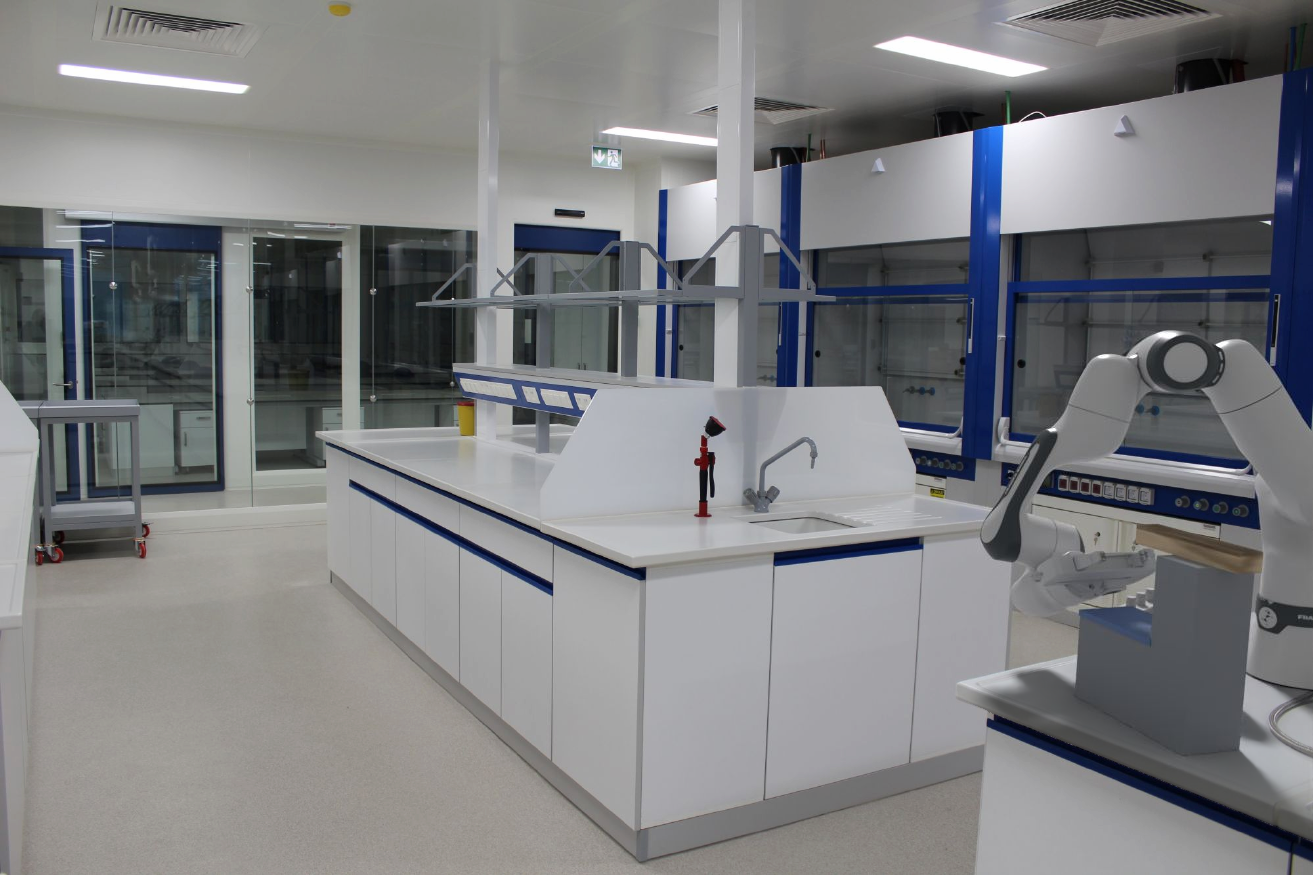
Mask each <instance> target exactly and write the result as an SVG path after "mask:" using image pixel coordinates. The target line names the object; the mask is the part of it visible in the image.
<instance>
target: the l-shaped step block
mask: <svg viewBox="0 0 1313 875" xmlns="http://www.w3.org/2000/svg"><path fill="white" fill-rule="evenodd" d="M1255 574H1256V573H1252V574H1236V573H1233V572H1229V571H1226V570H1223V569H1219V568H1216V567H1213V566H1209V565H1206V564H1203V563H1199V562H1196V561H1193V560H1189V559H1186V558H1183V557H1179V556H1176V555H1173V554H1163V555H1161V554H1160V555H1156V572H1155V573H1154V575H1155V576H1154V577H1155V578H1154V587H1153V588H1154V600H1153V614H1151V613H1148V612H1146V611H1143V610H1140V609H1138V608H1135V607H1133V606H1124V607H1118V606H1113V607H1111V606H1110V607H1097V608H1096V607H1095V608H1084V609H1083V608H1082V609H1078V616H1079V625H1078V626H1079V628H1078V638H1077V639H1078V643H1077V653H1076V654H1077V657H1076V672H1075V684H1074V685H1075V687H1074V688H1075V689H1074V697H1075V698H1078V699H1079V700H1082V701H1083V702H1085V703H1087V704H1089V705H1091V706H1093V707H1094V708H1096V709H1098V710H1100V711H1101V712H1103V713H1105V714H1106V715H1108V716H1110V717H1113V719H1116V720H1117V721H1120V722H1121V723H1123V724H1125V725H1127V727H1128V726H1129V727H1130V728H1132V729H1134V730H1136V731H1137V732H1140V733H1141V734H1143V735H1145V736H1146V737H1149V738H1151V739H1153V740H1154V741H1156V742H1158V743H1160V744H1161V745H1163V746H1165V747H1167V748H1168V749H1170V750H1172V751H1174V752H1176V753H1178V754H1180V755H1181V756H1184V757H1185V756H1186V757H1187V756H1194V755H1202V754H1212V753H1221V752H1229V751H1238V750H1240V747H1241V746H1240V745H1241V734H1242V726H1243V725H1242V724H1243V723H1242V722H1243V712H1244V711H1243V709H1244V700H1245V697H1244V696H1245V686H1246V678H1247V675H1246V674H1247V672H1246V667H1247V655H1248V645H1249V640H1250V633H1251V632H1250V631H1251V630H1250V629H1251V618H1252V608H1253V607H1252V606H1253V596H1254V584H1255V583H1254V582H1255Z"/></svg>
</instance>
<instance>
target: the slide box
mask: <svg viewBox="0 0 1313 875" xmlns="http://www.w3.org/2000/svg"><path fill="white" fill-rule="evenodd" d="M1135 529H1136V530H1135V544H1137V545H1140V546H1144V547H1145V548H1152V549H1153V550H1156V551H1160V552H1162V553H1163V552H1164V553H1166V554H1168V555H1176V556H1179V557H1183V558H1186V559H1189V560H1193V561H1196V562H1199V563H1203V564H1206V565H1209V566H1213V567H1216V568H1219V569H1223V570H1226V571H1229V572H1233V573H1236V574H1252V573H1255V574H1261V573H1262V564H1263V553H1264V552H1262V551H1261V550H1257V549H1254V548H1250V547H1246V546H1243V545H1239V544H1235V543H1231V542H1228V541H1224V540H1220V539H1216V538H1213V537H1210V536H1209V537H1208V536H1205V535H1201V534H1198V533H1193V532H1190V531H1187V530H1183V529H1180V528H1176V527H1171V526H1168V525H1164V524H1160V523H1146V524H1145V523H1142V524H1136V528H1135Z"/></svg>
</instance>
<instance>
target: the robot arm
mask: <svg viewBox="0 0 1313 875" xmlns="http://www.w3.org/2000/svg"><path fill="white" fill-rule="evenodd" d="M1196 390H1201V391H1202V392H1203V393H1205V395H1206V397H1208V398H1209V399H1210V401H1211V404H1212V405H1213V407H1214V409H1215V412H1217V414H1218V416H1219V418H1220V420H1221V422H1223V424H1224V426H1225V428H1226V430H1227V432H1228V433H1229V435H1230V438H1232V440H1233V442H1234V443H1235V445H1236V447H1237V448H1238V451H1240V452H1241V454H1242V455H1243V456H1244V457H1245V458H1246V460H1247V461H1248V462H1249V463H1250V465H1251V466H1252V467H1253V468H1254V469H1255V471H1256V472H1257V474H1256V475H1255V478H1254V490H1255V495H1256V497H1257V502H1258V503H1257V504H1258V516H1259V518H1258V519H1259V526H1260V528H1259V529H1260V535H1261V544H1262V545H1261V546H1262V547H1261V548H1262V552H1264V553H1263V564H1262V573H1260V584H1259V593H1257V594H1256V596H1255V597H1256V598H1255V601H1254V605H1255V606H1254V614H1255V615H1256V618H1254V620H1253V622H1252V627H1251V630H1250V631H1251V632H1250V634H1249V644H1248V655H1247V667H1246V674H1249V675H1251V676H1252V677H1255V678H1258V679H1260V680H1264V681H1266V682H1270V683H1273V684H1278V685H1282V686H1287V687H1292V688H1298V689H1305V690H1313V430H1311V429H1310V427H1309V426H1308V424H1307V423H1306V421H1305V420H1304V419H1303V417H1302V415H1301V413H1300V411H1299V410H1298V409H1297V407H1296V405H1295V403H1294V402H1293V399H1292V398H1291V396H1290V395H1289V393H1288V391H1287V390H1286V388H1285V387H1284V385H1283V383H1282V381H1281V379H1280V378H1279V377H1278V375H1277V374H1276V372H1275V370H1274V369H1273V367H1272V366H1271V365H1270V364H1269V362H1268V361H1267V359H1265V357H1264V356H1263V355H1262V354H1261V353H1260V352H1259V350H1258V349H1257V348H1255V347H1254V345H1253V344H1251V343H1250V342H1249V341H1247V340H1244V339H1240V338H1239V339H1238V338H1235V339H1227V340H1223V341H1220V342H1217V343H1212V342H1211V341H1209V340H1207V339H1205V338H1204V337H1202V336H1201V335H1198V334H1197V333H1196V334H1195V333H1193V332H1189V331H1183V330H1182V331H1181V330H1171V329H1170V330H1162V331H1159V332H1154V333H1150V334H1148V335H1145V336H1144V337H1142V338H1140V339H1138V341H1136V342H1135V343H1134V344H1133V345H1131V347H1130V348H1128V349H1127V350H1126V351H1125V352H1123V353H1122V354H1121V355H1119V354H1113V353H1107V354H1106V353H1104V354H1099V355H1097V356H1095V357H1093V358H1092V359H1091V360H1090V361H1089V362H1088V363H1087V365H1086V367H1085V368H1084V369H1083V372H1082V373H1081V375H1080V377H1079V379H1078V380H1077V382H1076V385H1075V387H1074V388H1073V391H1072V394H1071V395H1070V398H1069V400H1068V403H1067V406H1066V408H1065V410H1064V412H1063V414H1062V415H1061V417H1060V418H1059V419H1058V420H1057V422H1055V424H1053V425H1052V426H1051V427H1050V428H1046V429H1043V430H1041V431H1040V432H1039V433H1038V435H1036V437H1035V438H1034V440H1033V441H1032V443H1031V444H1030V445H1029V447H1028V449H1027V450H1026V452H1025V454H1024V455H1023V457H1022V459H1021V461H1020V463H1019V464H1018V466H1017V468H1016V469H1015V472H1014V473H1013V475H1012V477H1011V479H1010V480H1009V482H1008V484H1007V486H1006V487H1005V490H1004V491H1003V492H1002V494H1001V497H1000V498H999V500H998V501H997V503H996V504H995V505H994V506H993V508H992V509H991V510H990V512H989V513H988V514H987V516H986V518H985V520H983V523H982V525H981V528H980V533H979V534H980V535H979V537H980V538H979V539H980V541H981V544H982V546H983V548H984V549H985V552H986V553H987V555H988V556H990V558H991V559H992V560H994V561H995V560H996V561H1002V562H1006V563H1007V562H1008V563H1015V564H1018V565H1023V566H1025V571H1024V572H1023V574H1022V575H1021V577H1020V578H1018V579H1017V580H1016V581H1015V582H1014V583H1013V584H1012V586H1011V588H1010V592H1009V593H1010V598H1011V602H1012V603H1013V605H1014V606H1015V607H1016V609H1017V610H1018V611H1020V612H1021V613H1022V614H1023V615H1025V616H1028V617H1031V618H1035V619H1037V618H1046V617H1051V616H1053V615H1056V614H1059V613H1061V612H1064V611H1066V610H1068V608H1070V607H1074V606H1076V607H1077V606H1079V605H1081V604H1083V603H1086V602H1088V601H1089V602H1090V601H1092V600H1095V599H1097V598H1099V597H1103V596H1107V595H1113V594H1117V593H1122V592H1123V591H1126V590H1127V586H1130V585H1133V584H1135V583H1138V582H1140V581H1142V580H1144V579H1146V578H1148V577H1150V576H1151V575H1153V574H1156V560H1157V558H1156V553H1155V549H1153V548H1150V547H1145V548H1142V549H1140V550H1134V551H1133V550H1132V551H1113V552H1105V551H1104V550H1096V551H1093V552H1089V553H1088V552H1087V553H1086V548H1085V543H1084V540H1083V538H1082V536H1081V535H1082V534H1081V533H1080V531H1079V530H1078V529H1077V527H1075V526H1074V525H1073V524H1069V523H1066V522H1062V521H1059V520H1055V519H1053V518H1049V517H1048V518H1047V517H1044V516H1039V515H1037V514H1036V515H1035V514H1033V513H1028V512H1027V511H1028V509H1029V507H1030V505H1031V504H1032V502H1033V500H1034V499H1035V497H1036V495H1037V493H1038V491H1039V490H1040V487H1041V486H1042V484H1043V482H1044V480H1045V479H1046V477H1047V476H1048V475H1049V474H1050V473H1051V472H1052V471H1054V470H1055V469H1057V468H1059V467H1062V466H1065V465H1071V464H1079V463H1080V464H1081V463H1090V462H1095V461H1099V460H1102V459H1104V458H1107V457H1109V456H1111V455H1112V454H1113V453H1115V452H1116V451H1118V449H1119V448H1120V446H1121V445H1122V443H1123V441H1124V440H1125V437H1126V434H1127V432H1128V429H1129V427H1130V425H1131V421H1132V420H1133V416H1134V413H1135V410H1136V406H1138V404H1139V402H1140V401H1141V399H1142V398H1143V397H1144V396H1145V395H1147V394H1148V393H1150V392H1152V391H1155V392H1159V393H1175V394H1177V393H1180V394H1181V393H1188V392H1194V391H1196Z"/></svg>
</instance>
